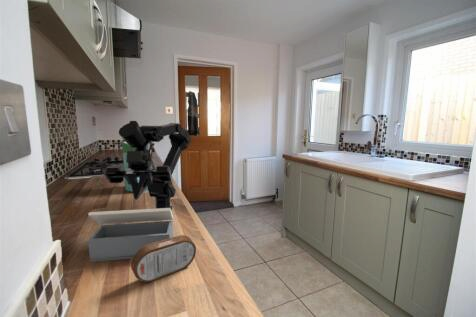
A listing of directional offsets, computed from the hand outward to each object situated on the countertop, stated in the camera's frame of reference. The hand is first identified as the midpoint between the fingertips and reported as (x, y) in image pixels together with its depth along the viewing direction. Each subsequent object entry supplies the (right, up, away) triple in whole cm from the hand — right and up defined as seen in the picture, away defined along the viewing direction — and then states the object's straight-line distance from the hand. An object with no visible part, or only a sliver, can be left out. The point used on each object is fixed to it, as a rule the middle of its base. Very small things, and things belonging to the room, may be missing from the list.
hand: (135, 198), depth 68 cm
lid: (+1, -5, -3) cm, 6 cm away
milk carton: (-22, -4, +54) cm, 58 cm away
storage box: (+1, -14, -2) cm, 14 cm away
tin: (+13, -16, -12) cm, 24 cm away
